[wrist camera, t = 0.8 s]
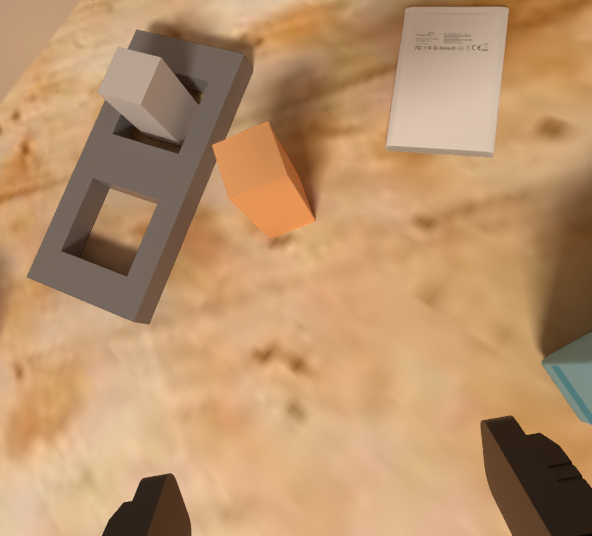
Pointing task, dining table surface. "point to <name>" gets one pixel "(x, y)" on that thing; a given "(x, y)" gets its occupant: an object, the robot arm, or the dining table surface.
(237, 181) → the plug
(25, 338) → the dining table surface
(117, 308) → the grey block holder
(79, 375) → the dining table surface
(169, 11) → the dining table surface
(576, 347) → the data package
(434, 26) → the external hard drive
